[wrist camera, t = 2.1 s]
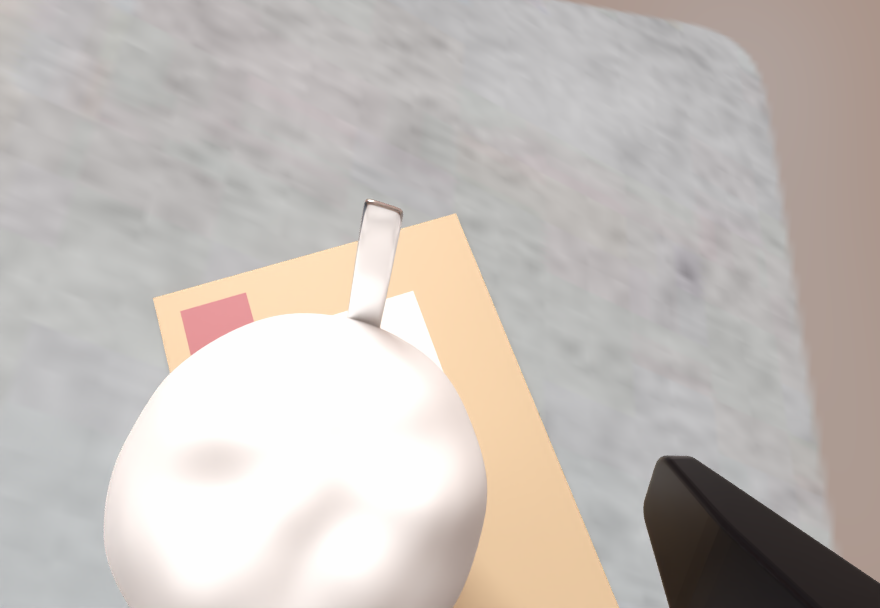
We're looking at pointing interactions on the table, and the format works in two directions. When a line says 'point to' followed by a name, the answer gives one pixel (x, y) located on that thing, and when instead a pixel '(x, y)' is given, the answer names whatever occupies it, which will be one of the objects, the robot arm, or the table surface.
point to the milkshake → (302, 466)
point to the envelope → (473, 376)
